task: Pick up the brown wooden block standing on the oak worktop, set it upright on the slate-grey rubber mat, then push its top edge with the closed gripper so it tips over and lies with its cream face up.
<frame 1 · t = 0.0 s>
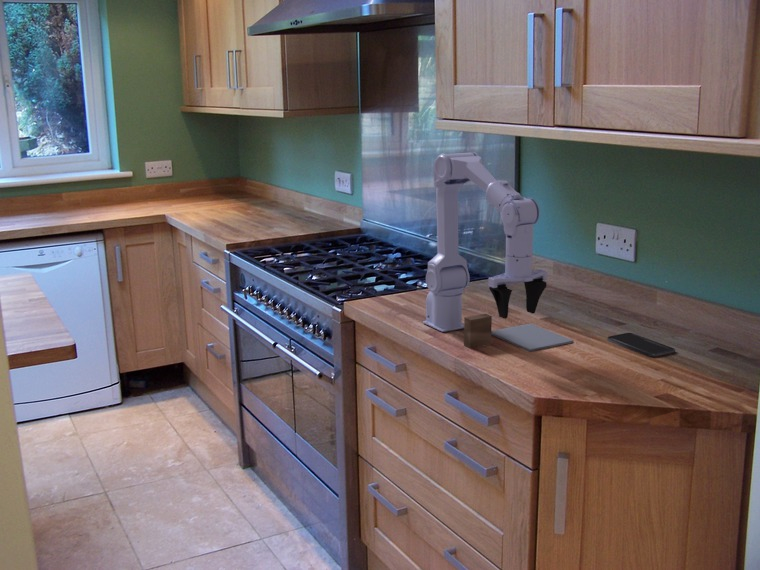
hand: (517, 314, 182), 10 cm above the worktop, tool pointing down, fingers open, 7 cm apart
rubber mat: (530, 337, 198), on the worktop
phone: (640, 348, 192), on the worktop
brown wooden block: (477, 345, 194), on the worktop
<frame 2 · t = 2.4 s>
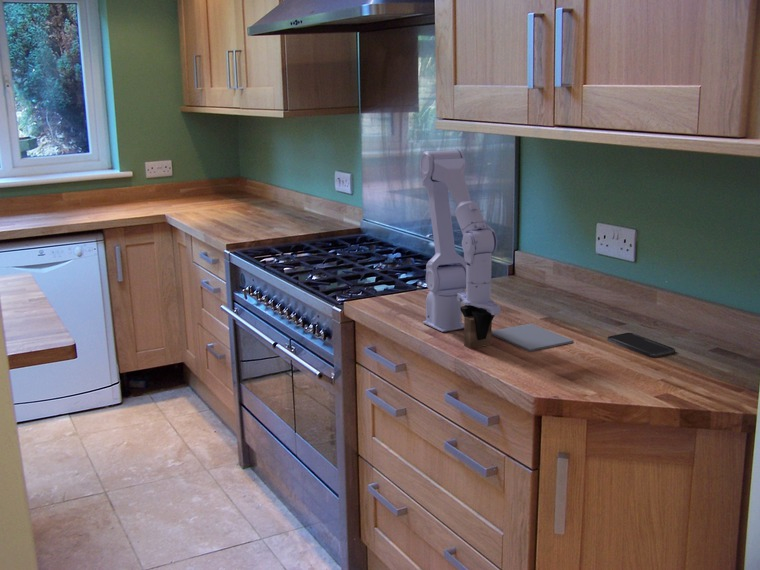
hand: (477, 337, 193), 2 cm above the worktop, tool pointing down, fingers closed on brown wooden block, 2 cm apart
brown wooden block: (477, 345, 194), on the worktop, touching gripper
everything else where it was.
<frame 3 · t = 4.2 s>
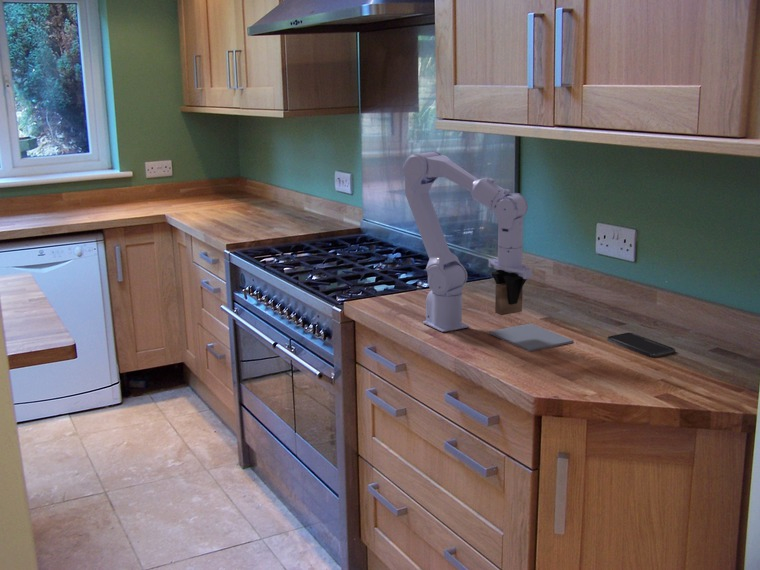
hand: (508, 302, 196), 9 cm above the worktop, tool pointing down, fingers closed on brown wooden block, 3 cm apart
brown wooden block: (508, 312, 197), point 6 cm above the worktop, touching gripper
everything else where it was.
when the fingers open (4 cm above the worktop, at t = 6.1 s): brown wooden block stays where it is, resting on rubber mat.
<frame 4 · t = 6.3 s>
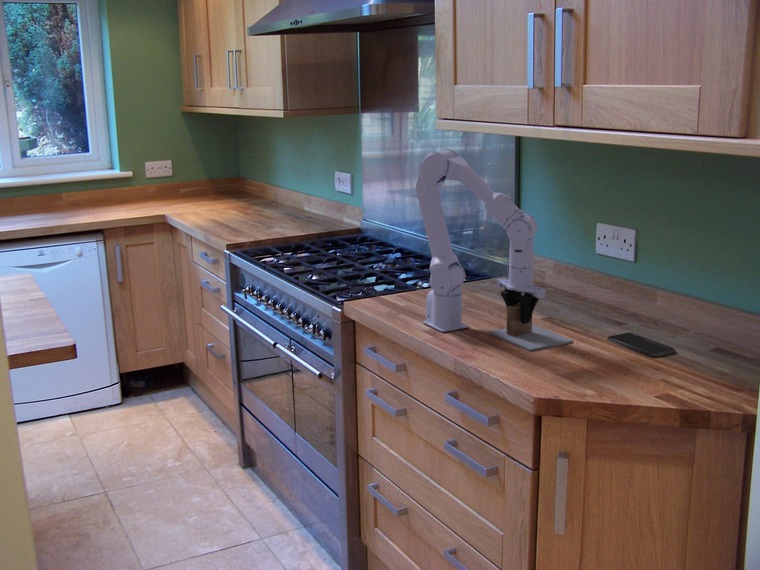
hand: (519, 320, 200), 4 cm above the worktop, tool pointing down, fingers open, 4 cm apart
brown wooden block: (519, 333, 200), resting on rubber mat
everything else where it was.
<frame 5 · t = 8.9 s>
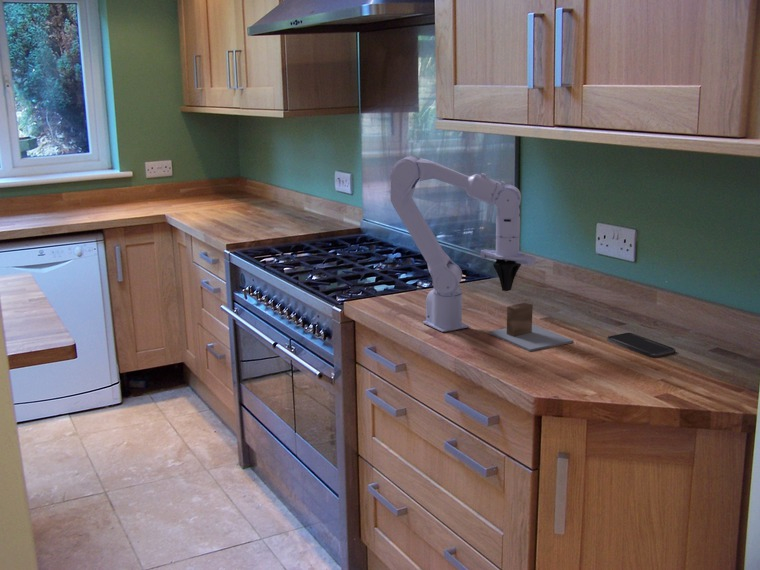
hand: (506, 290, 203), 10 cm above the worktop, tool pointing down, fingers closed
nothing on the worktop moved.
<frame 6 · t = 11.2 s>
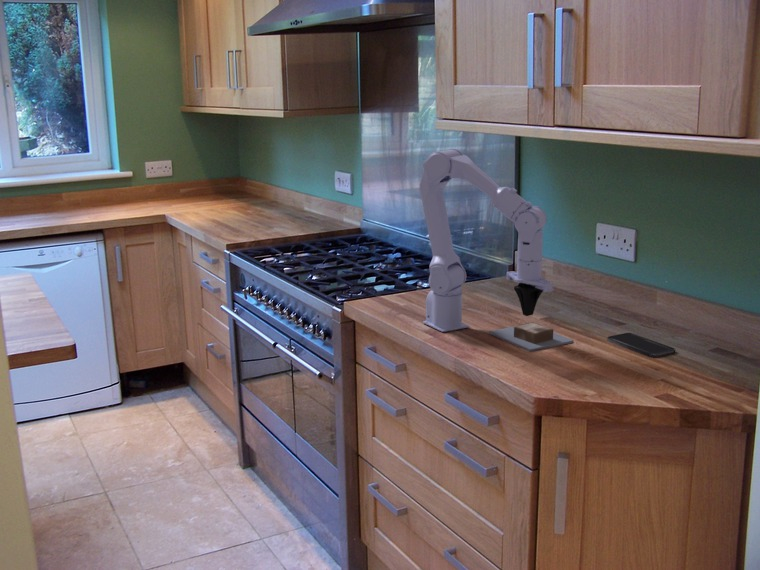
hand: (527, 314, 196), 6 cm above the worktop, tool pointing down, fingers closed
brown wooden block: (523, 329, 199), point 2 cm above the worktop, tilted 90°, touching rubber mat
everything else where it was.
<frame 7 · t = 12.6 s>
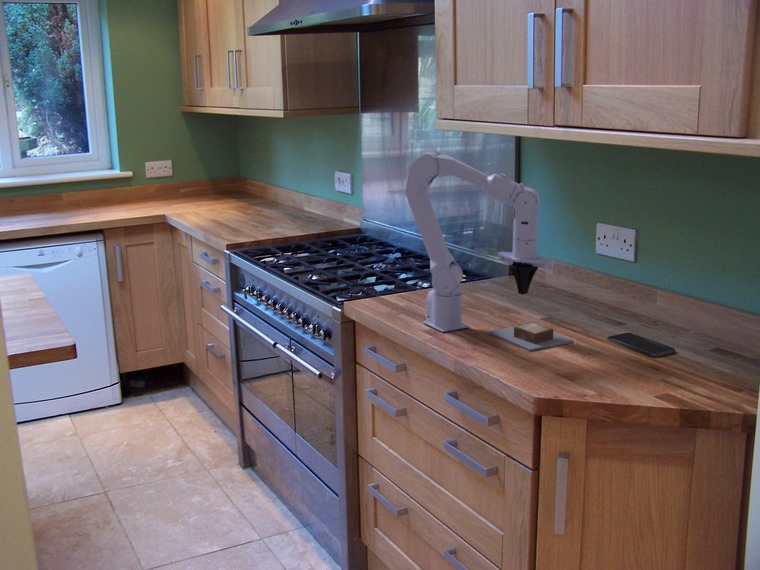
hand: (523, 293, 201), 10 cm above the worktop, tool pointing down, fingers closed
nothing on the worktop moved.
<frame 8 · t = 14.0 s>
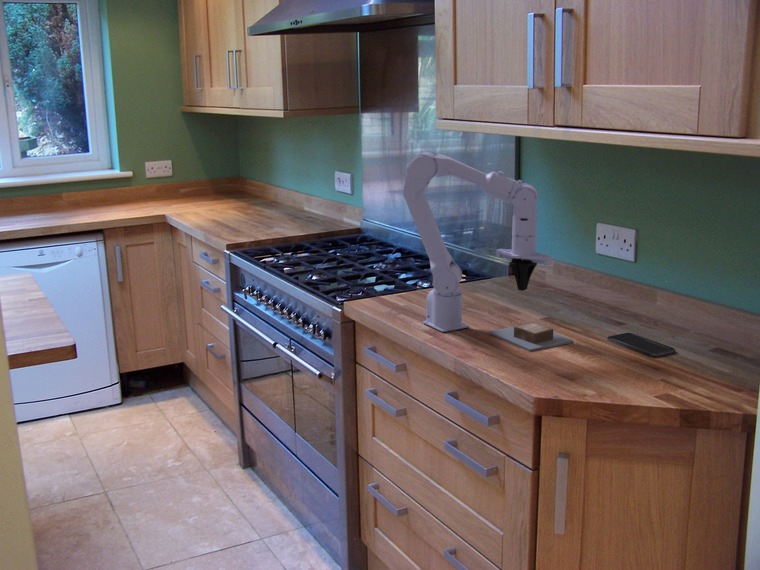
hand: (522, 289, 202), 10 cm above the worktop, tool pointing down, fingers closed
nothing on the worktop moved.
at the end: brown wooden block tilted 90°; brown wooden block inside the target area on the rubber mat (1.9 cm from its centre), point 1.7 cm above the rubber mat's base; brown wooden block touching rubber mat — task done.
